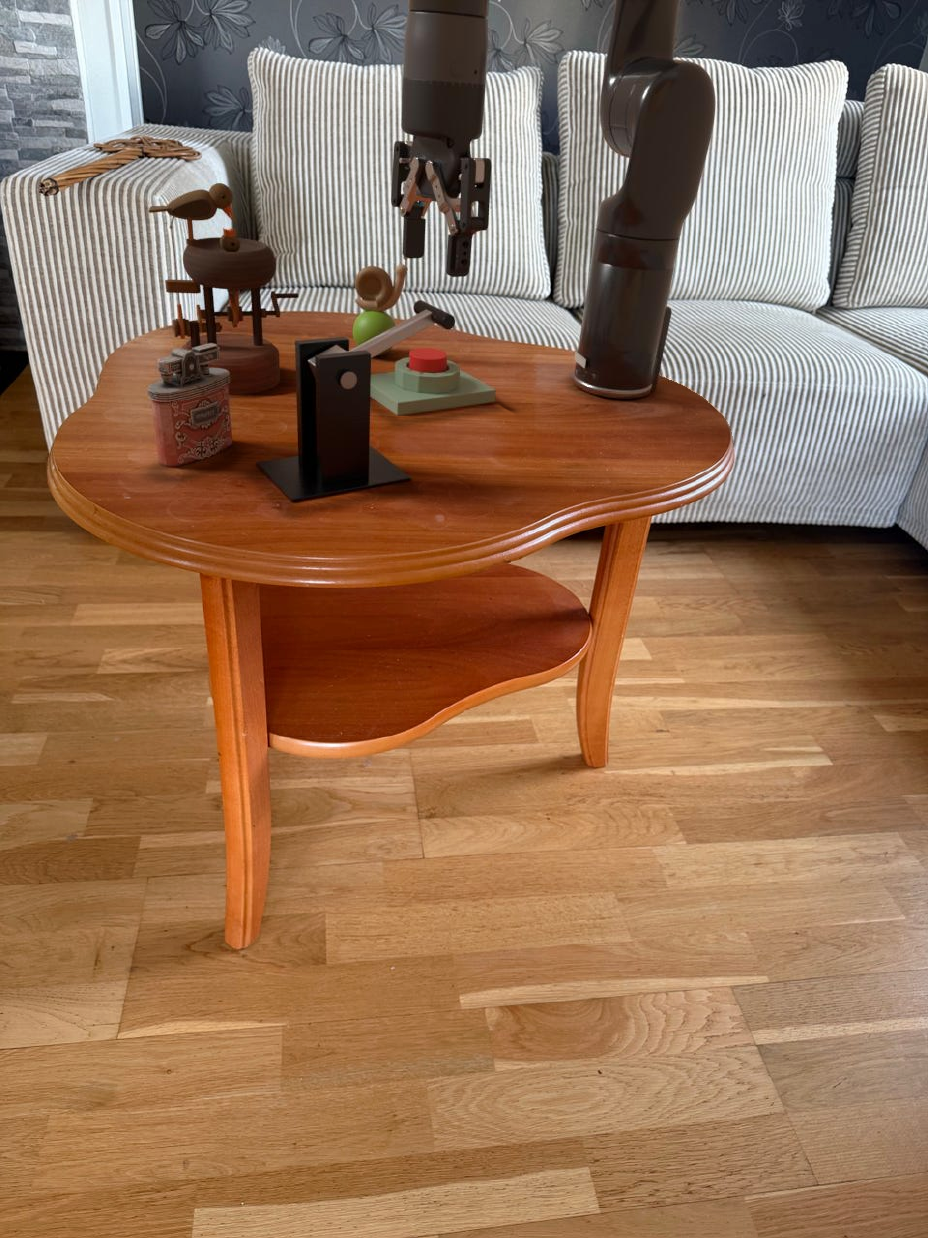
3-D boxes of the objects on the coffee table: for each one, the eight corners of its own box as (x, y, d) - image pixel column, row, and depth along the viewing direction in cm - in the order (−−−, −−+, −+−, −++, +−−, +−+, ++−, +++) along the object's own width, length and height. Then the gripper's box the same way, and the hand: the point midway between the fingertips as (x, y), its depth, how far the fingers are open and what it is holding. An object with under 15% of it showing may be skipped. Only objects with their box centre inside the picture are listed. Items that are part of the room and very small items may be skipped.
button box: (451, 383, 101) (453, 349, 99) (494, 409, 95) (497, 373, 93) (357, 395, 95) (358, 358, 93) (397, 423, 89) (398, 385, 87)
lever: (428, 316, 76) (421, 290, 74) (458, 332, 72) (451, 305, 71) (310, 380, 73) (300, 354, 71) (336, 399, 69) (325, 373, 68)
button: (434, 362, 95) (435, 346, 94) (453, 373, 93) (454, 357, 92) (402, 365, 93) (402, 349, 92) (420, 377, 91) (421, 360, 90)
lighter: (176, 481, 74) (163, 364, 68) (148, 470, 75) (133, 354, 70) (244, 454, 80) (236, 344, 74) (217, 444, 81) (208, 335, 75)
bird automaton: (185, 402, 89) (157, 184, 80) (158, 378, 97) (130, 178, 88) (323, 386, 96) (313, 185, 87) (287, 365, 104) (275, 179, 95)
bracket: (369, 456, 81) (371, 328, 75) (410, 490, 76) (417, 355, 69) (256, 474, 76) (248, 338, 70) (292, 512, 71) (287, 368, 64)
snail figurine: (402, 363, 106) (406, 259, 99) (349, 359, 106) (350, 254, 99) (405, 350, 110) (409, 249, 104) (355, 346, 110) (356, 245, 104)
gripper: (524, 84, 75) (505, 280, 84) (439, 73, 85) (430, 250, 94) (451, 79, 71) (439, 285, 80) (370, 68, 81) (367, 253, 90)
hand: (434, 266), depth 87 cm, fingers open, 8 cm apart
